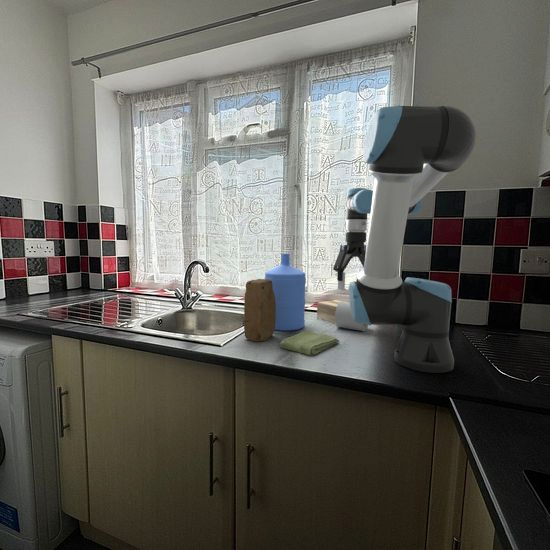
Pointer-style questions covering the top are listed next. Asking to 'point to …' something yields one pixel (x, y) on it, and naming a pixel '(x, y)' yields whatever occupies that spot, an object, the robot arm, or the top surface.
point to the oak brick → (327, 310)
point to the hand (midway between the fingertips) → (353, 288)
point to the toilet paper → (347, 317)
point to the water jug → (288, 295)
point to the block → (259, 310)
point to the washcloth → (308, 342)
